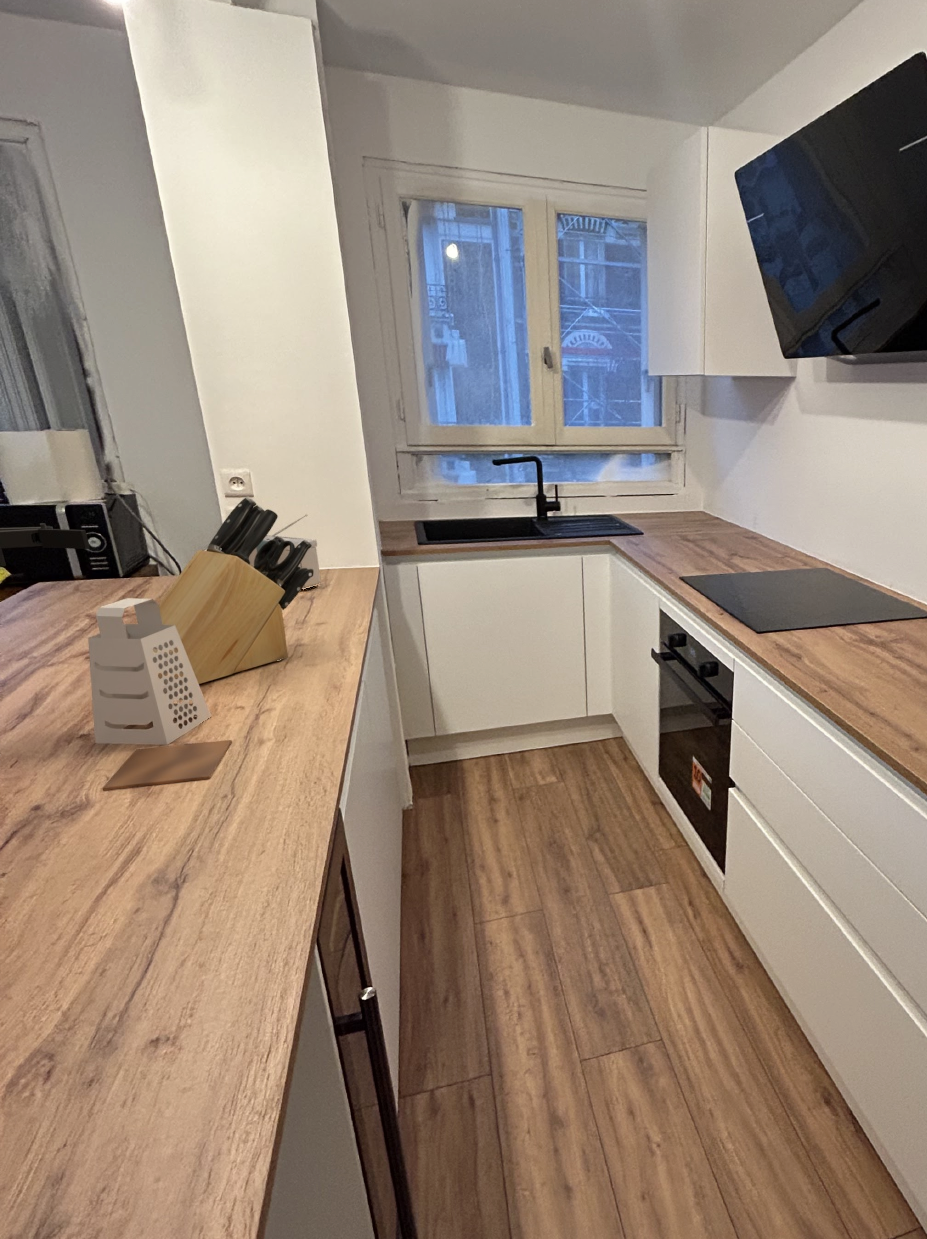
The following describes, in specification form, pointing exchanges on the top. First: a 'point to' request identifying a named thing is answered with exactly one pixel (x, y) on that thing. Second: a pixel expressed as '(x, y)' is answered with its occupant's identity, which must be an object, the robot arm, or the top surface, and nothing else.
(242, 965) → the top surface
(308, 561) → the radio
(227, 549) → the knife block
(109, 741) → the grater
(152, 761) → the cork trivet
